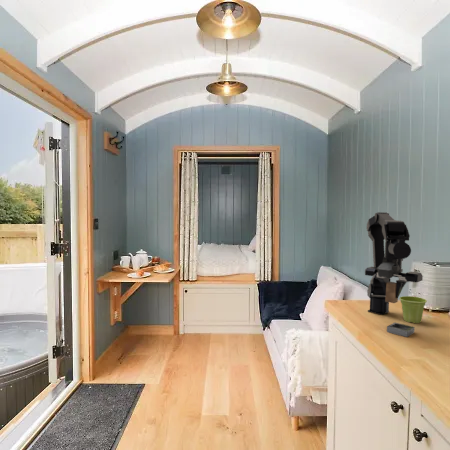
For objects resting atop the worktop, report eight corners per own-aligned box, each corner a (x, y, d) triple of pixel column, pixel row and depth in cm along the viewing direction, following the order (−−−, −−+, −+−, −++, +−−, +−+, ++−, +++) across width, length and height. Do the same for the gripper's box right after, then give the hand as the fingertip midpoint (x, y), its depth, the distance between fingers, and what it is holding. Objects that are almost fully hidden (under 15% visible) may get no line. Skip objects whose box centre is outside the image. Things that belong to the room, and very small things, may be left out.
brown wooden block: (385, 301, 132) (386, 282, 132) (388, 299, 134) (390, 281, 134) (394, 303, 130) (395, 284, 129) (397, 301, 132) (399, 283, 132)
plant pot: (410, 325, 134) (411, 302, 134) (393, 318, 143) (394, 296, 143) (431, 324, 136) (432, 301, 136) (413, 316, 145) (414, 295, 145)
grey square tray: (386, 332, 127) (387, 326, 126) (394, 327, 131) (394, 322, 131) (407, 337, 122) (407, 331, 122) (414, 332, 126) (414, 327, 126)
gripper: (358, 254, 133) (357, 296, 133) (412, 260, 119) (410, 306, 120) (371, 252, 140) (370, 291, 141) (423, 257, 127) (422, 300, 128)
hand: (391, 297), depth 132 cm, fingers closed on brown wooden block, 3 cm apart
